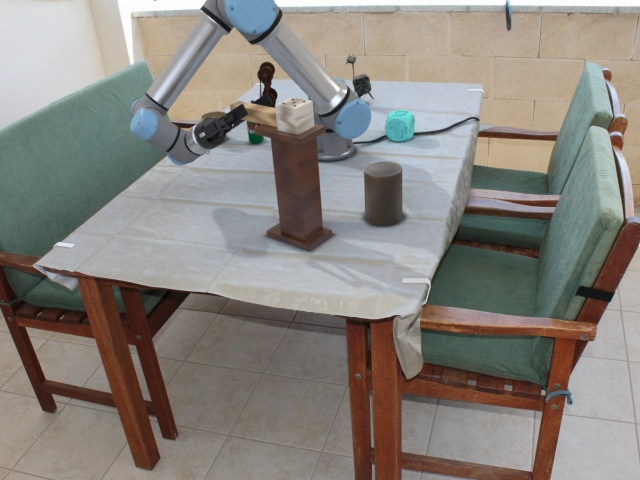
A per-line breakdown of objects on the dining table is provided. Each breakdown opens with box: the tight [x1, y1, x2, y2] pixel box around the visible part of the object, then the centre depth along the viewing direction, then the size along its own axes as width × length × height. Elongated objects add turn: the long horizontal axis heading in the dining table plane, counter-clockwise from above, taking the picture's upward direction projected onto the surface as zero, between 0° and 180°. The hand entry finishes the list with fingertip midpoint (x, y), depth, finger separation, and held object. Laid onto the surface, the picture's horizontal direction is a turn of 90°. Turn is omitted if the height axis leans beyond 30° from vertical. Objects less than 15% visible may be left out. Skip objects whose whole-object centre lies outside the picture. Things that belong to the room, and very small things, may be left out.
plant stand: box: [254, 124, 333, 252], centre depth 155 cm, size 14×9×28 cm, turn 52°
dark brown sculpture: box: [256, 61, 279, 108], centre depth 233 cm, size 15×15×20 cm
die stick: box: [229, 96, 314, 135], centre depth 149 cm, size 22×6×6 cm, turn 52°
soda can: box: [245, 121, 265, 145], centre depth 216 cm, size 5×5×12 cm
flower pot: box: [199, 110, 228, 141], centre depth 221 cm, size 9×9×9 cm
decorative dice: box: [384, 109, 416, 142], centre depth 212 cm, size 8×8×8 cm
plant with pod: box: [345, 52, 375, 100], centre depth 239 cm, size 8×11×20 cm
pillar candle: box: [363, 161, 404, 227], centre depth 164 cm, size 10×10×15 cm
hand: (257, 104), depth 150 cm, fingers open, 8 cm apart
